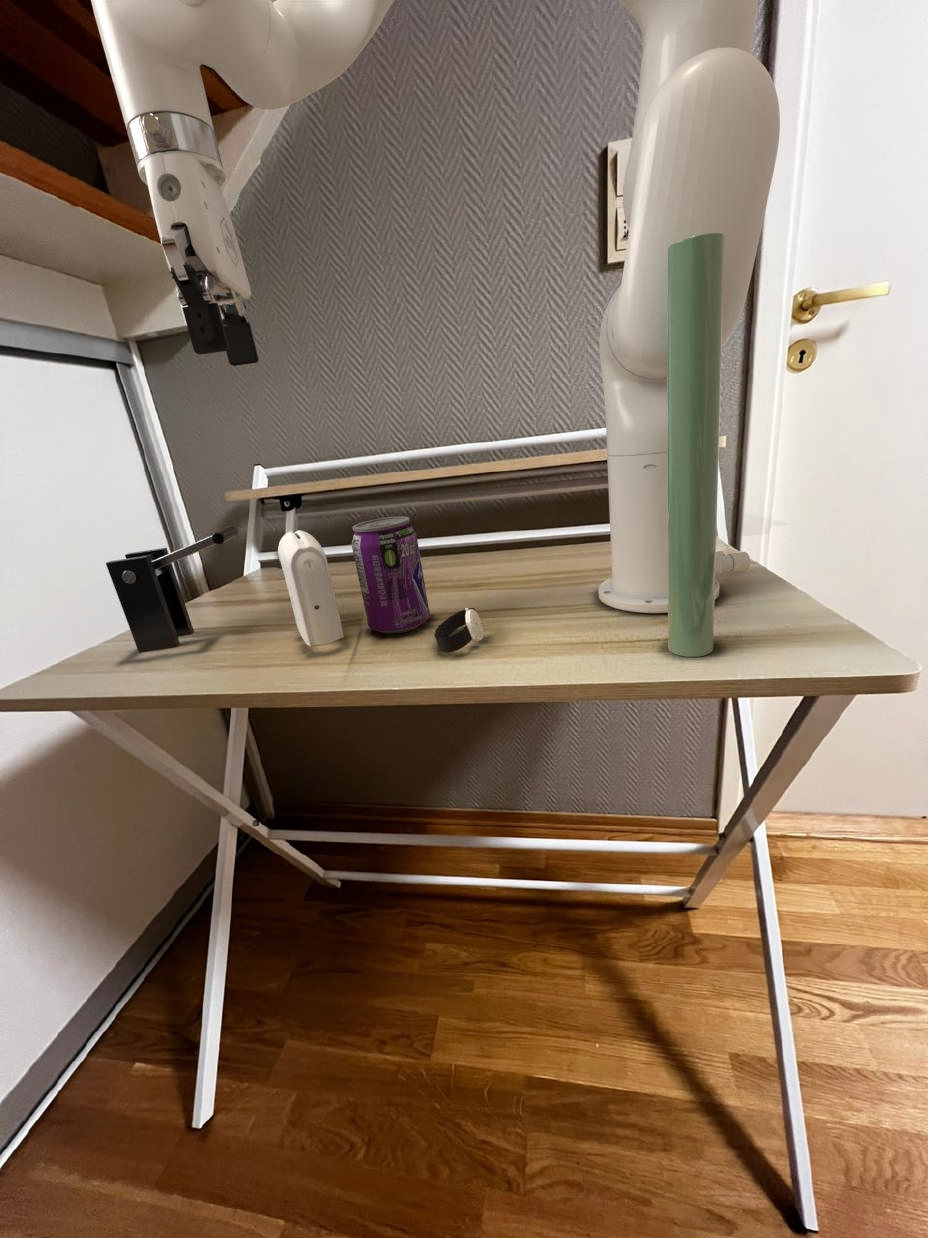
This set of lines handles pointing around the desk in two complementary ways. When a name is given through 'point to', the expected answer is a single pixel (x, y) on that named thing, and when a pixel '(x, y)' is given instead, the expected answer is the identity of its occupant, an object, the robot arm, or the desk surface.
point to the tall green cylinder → (693, 437)
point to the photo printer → (310, 588)
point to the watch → (462, 637)
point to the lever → (194, 548)
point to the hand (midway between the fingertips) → (229, 358)
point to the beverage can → (390, 574)
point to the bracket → (150, 600)
